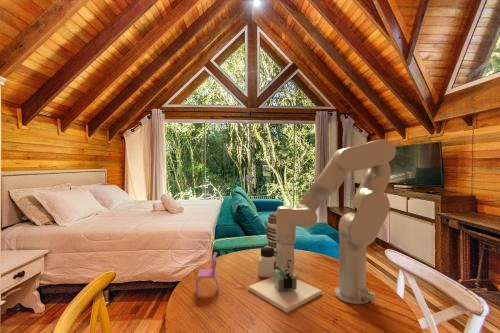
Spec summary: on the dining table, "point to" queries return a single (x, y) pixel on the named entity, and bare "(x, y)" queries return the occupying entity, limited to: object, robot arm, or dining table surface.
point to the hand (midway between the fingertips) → (284, 283)
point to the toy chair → (208, 273)
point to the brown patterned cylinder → (271, 232)
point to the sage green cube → (279, 280)
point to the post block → (284, 294)
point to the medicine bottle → (266, 262)
